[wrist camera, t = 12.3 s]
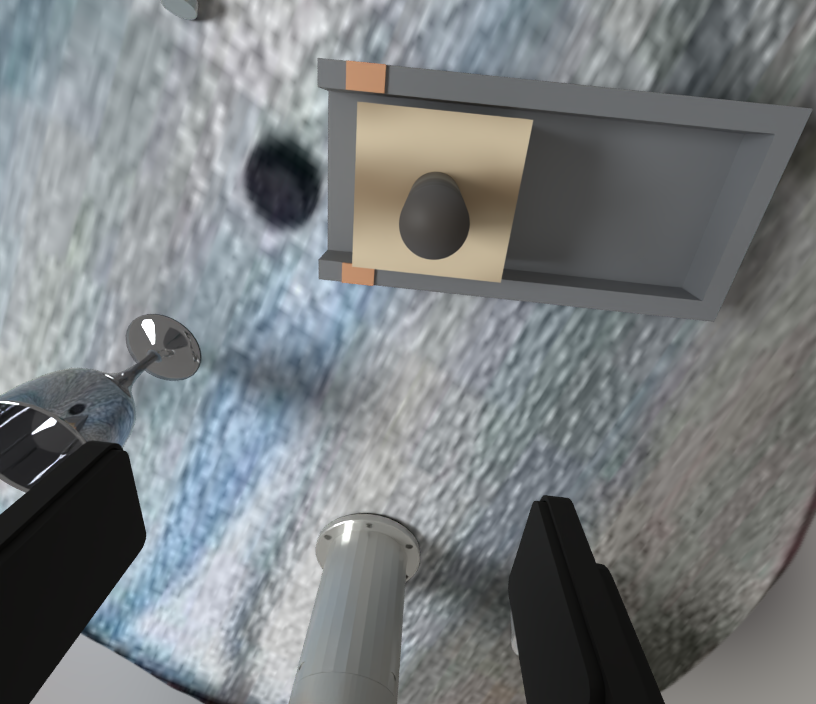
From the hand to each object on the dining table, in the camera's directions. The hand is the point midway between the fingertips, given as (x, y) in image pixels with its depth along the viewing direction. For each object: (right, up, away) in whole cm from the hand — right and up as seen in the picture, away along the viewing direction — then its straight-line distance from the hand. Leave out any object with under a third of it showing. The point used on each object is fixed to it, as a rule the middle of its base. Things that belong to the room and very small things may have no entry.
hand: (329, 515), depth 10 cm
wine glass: (-21, +4, +31) cm, 38 cm away
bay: (+11, +16, +23) cm, 30 cm away
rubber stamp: (+4, +16, +22) cm, 27 cm away
